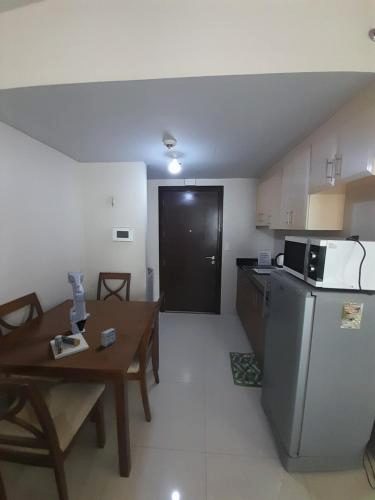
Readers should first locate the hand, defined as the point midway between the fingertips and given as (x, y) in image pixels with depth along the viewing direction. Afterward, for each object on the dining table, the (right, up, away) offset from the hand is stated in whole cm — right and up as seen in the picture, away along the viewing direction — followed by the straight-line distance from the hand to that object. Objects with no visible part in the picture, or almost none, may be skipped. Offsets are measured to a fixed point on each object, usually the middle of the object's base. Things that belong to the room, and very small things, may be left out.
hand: (81, 330), depth 141 cm
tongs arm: (-7, -6, -5) cm, 10 cm away
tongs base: (-9, -7, -8) cm, 14 cm away
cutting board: (-5, -8, -4) cm, 11 cm away
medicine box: (+18, -8, -1) cm, 20 cm away
